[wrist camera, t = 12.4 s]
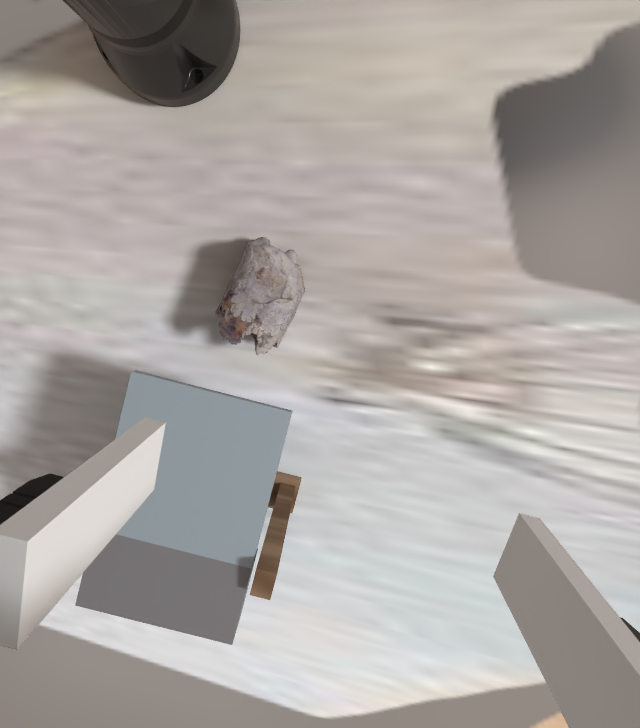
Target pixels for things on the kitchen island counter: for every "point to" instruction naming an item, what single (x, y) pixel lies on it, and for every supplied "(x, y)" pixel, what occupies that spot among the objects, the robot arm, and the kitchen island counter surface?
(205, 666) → the kitchen island counter surface
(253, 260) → the stone
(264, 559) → the frame
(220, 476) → the trapdoor
